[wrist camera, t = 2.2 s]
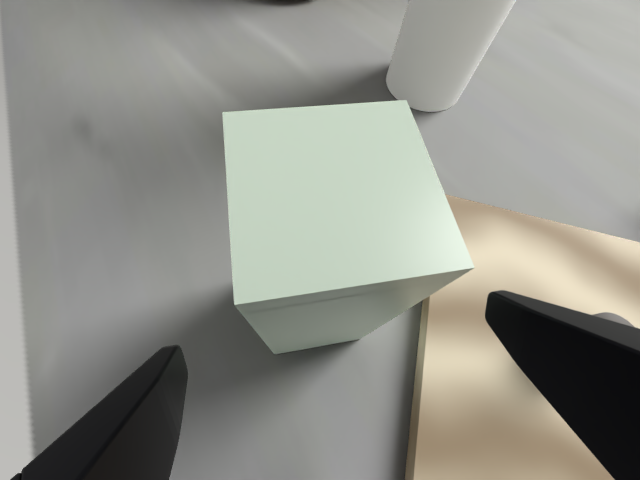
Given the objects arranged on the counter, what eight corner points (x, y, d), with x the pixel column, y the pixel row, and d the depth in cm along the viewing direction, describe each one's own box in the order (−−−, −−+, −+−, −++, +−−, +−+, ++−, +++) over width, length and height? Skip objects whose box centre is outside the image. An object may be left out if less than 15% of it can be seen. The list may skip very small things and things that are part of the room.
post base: (719, 579, 15) (889, 658, 11) (403, 489, 15) (444, 530, 11) (642, 253, 23) (723, 224, 18) (432, 201, 23) (463, 161, 19)
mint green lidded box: (359, 339, 18) (474, 267, 7) (274, 354, 18) (234, 305, 6) (342, 260, 21) (406, 100, 9) (265, 271, 20) (222, 112, 8)
